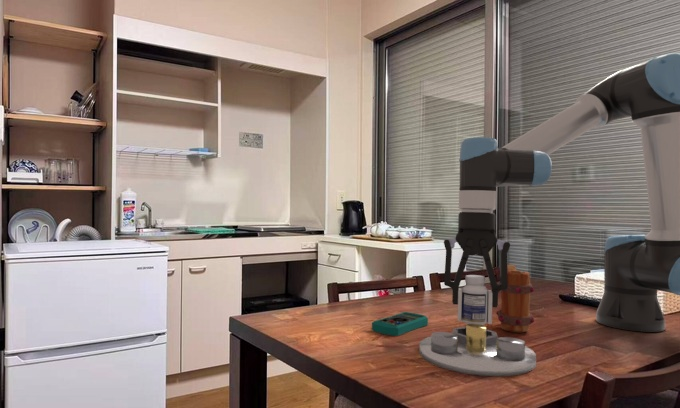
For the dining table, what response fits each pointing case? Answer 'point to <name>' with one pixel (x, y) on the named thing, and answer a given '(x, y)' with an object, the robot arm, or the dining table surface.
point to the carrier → (477, 352)
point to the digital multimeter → (399, 323)
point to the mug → (516, 302)
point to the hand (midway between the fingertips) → (474, 320)
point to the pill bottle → (474, 300)
